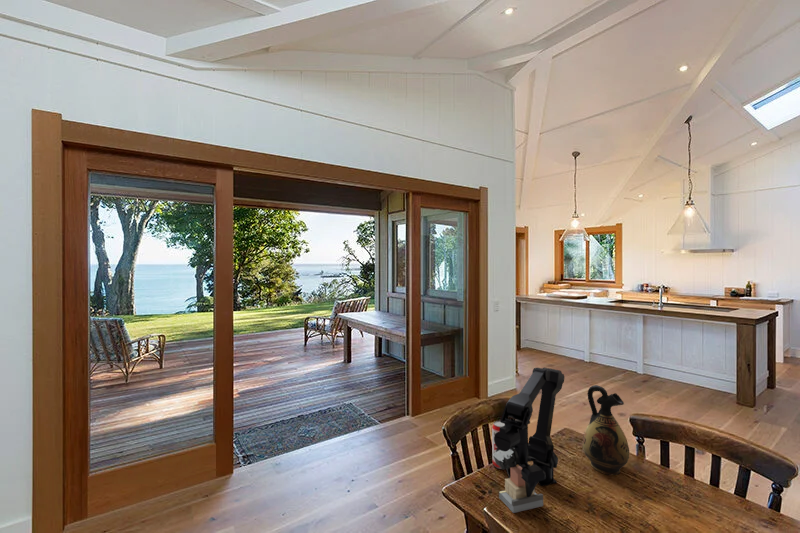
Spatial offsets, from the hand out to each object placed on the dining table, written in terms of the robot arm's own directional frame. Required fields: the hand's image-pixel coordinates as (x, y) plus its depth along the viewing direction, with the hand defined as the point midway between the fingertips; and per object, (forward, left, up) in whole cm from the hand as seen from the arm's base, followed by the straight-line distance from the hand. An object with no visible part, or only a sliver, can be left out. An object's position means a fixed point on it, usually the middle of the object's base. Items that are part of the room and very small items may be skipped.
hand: (519, 488), depth 119 cm
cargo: (0, 0, +2) cm, 2 cm away
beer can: (-6, -20, -4) cm, 22 cm away
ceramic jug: (-42, -7, -4) cm, 43 cm away
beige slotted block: (0, 0, -2) cm, 2 cm away
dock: (0, +1, -4) cm, 4 cm away
